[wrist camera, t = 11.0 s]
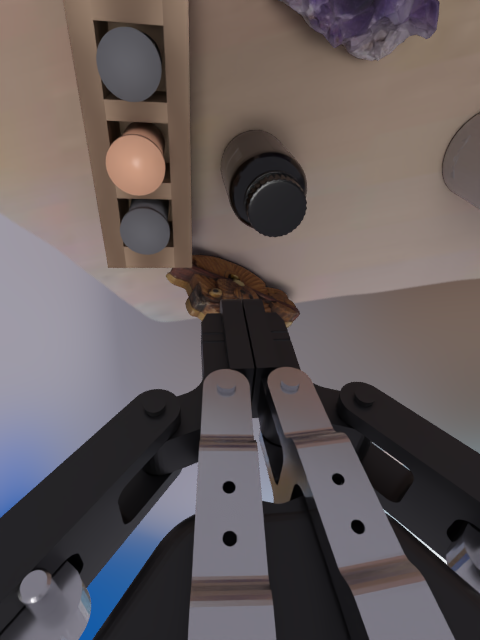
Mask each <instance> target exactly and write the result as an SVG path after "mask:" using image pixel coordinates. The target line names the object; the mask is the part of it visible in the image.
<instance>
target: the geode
mask: <svg viewBox="0 0 480 640" xmlns="http://www.w3.org/2000/svg"><path fill="white" fill-rule="evenodd" d="M279 1H282V2H284V3H285V4H286V5H289V6H290V7H291V8H292V9H293V10H295V11H297V12H298V14H301V15H302V17H303V18H304V20H305V21H306V23H307V24H308V25H309V26H310V27H311V28H313V29H314V30H315V31H317V32H319V33H321V34H323V35H324V36H325V38H326V39H327V40H328V41H329V43H330V44H331V45H332V46H333V47H334V48H335V47H337V46H339V45H340V44H342V45H344V46H345V48H346V50H347V51H348V53H350V54H351V55H353V56H355V57H357V58H360V59H365V60H370V61H373V60H376V59H377V61H378V60H379V59H381V58H383V57H384V56H386V55H388V54H390V53H391V52H392V51H393V50H394V49H395V48H396V47H397V46H398V45H399V44H400V43H402V42H404V40H405V39H406V38H408V37H409V36H411V35H419V36H421V37H424V38H425V39H428V38H430V37H431V36H432V34H433V33H434V32H435V31H436V28H437V22H438V16H439V1H438V0H279Z"/></svg>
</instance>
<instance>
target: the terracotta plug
mask: <svg viewBox="0 0 480 640" xmlns="http://www.w3.org/2000/svg"><path fill="white" fill-rule="evenodd" d="M164 150H165V140H164V137H163V135H162V133H161V131H160V130H159V129H158V127H157V126H155V125H154V124H152V123H148V122H132V123H131V124H129V125H128V126H127V128H126V129H125V131H124V133H123V134H122V136H121V137H119V138H117V139H116V140H115V141H114V142H113V143H112V145H111V146H110V148H109V150H108V152H107V155H106V169H107V172H108V175H109V177H110V178H111V180H112V182H113V183H114V184H115V185H116V186H117V187H118V188H119V189H121V190H122V191H124V192H126V193H128V194H131V195H138V196H141V195H147V194H150V193H152V192H154V191H155V190H156V189H157V188H158V187H159V186H160V185H161V183H162V181H163V179H164V176H165V160H164V157H163V156H164Z"/></svg>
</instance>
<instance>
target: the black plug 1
mask: <svg viewBox="0 0 480 640" xmlns="http://www.w3.org/2000/svg"><path fill="white" fill-rule="evenodd" d="M96 62H97V68H98V72H99V75H100V77H101V79H102V81H103V83H104V84H105V86H106V87H107V88H108V90H109V91H110V92H111V93H113V94H114V95H115V96H117V97H118V98H120V99H122V100H125V101H128V102H140V101H143V100H145V99H147V98H149V97H150V96H151V95H152V94H153V93H154V92H155V91H156V89H157V87H158V85H159V83H160V79H161V73H162V67H161V66H162V58H161V53H160V50H159V48H158V46H157V44H156V43H155V41H154V40H153V39H152V38H151V37H150V36H149V35H147V34H145V33H143V32H141V31H139V30H137V29H134V28H131V27H117V28H114V29H112V30H110V31H109V32H107V33H106V34H105V35H104V36H103V38H102V39H101V41H100V43H99V45H98V49H97V54H96Z"/></svg>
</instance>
